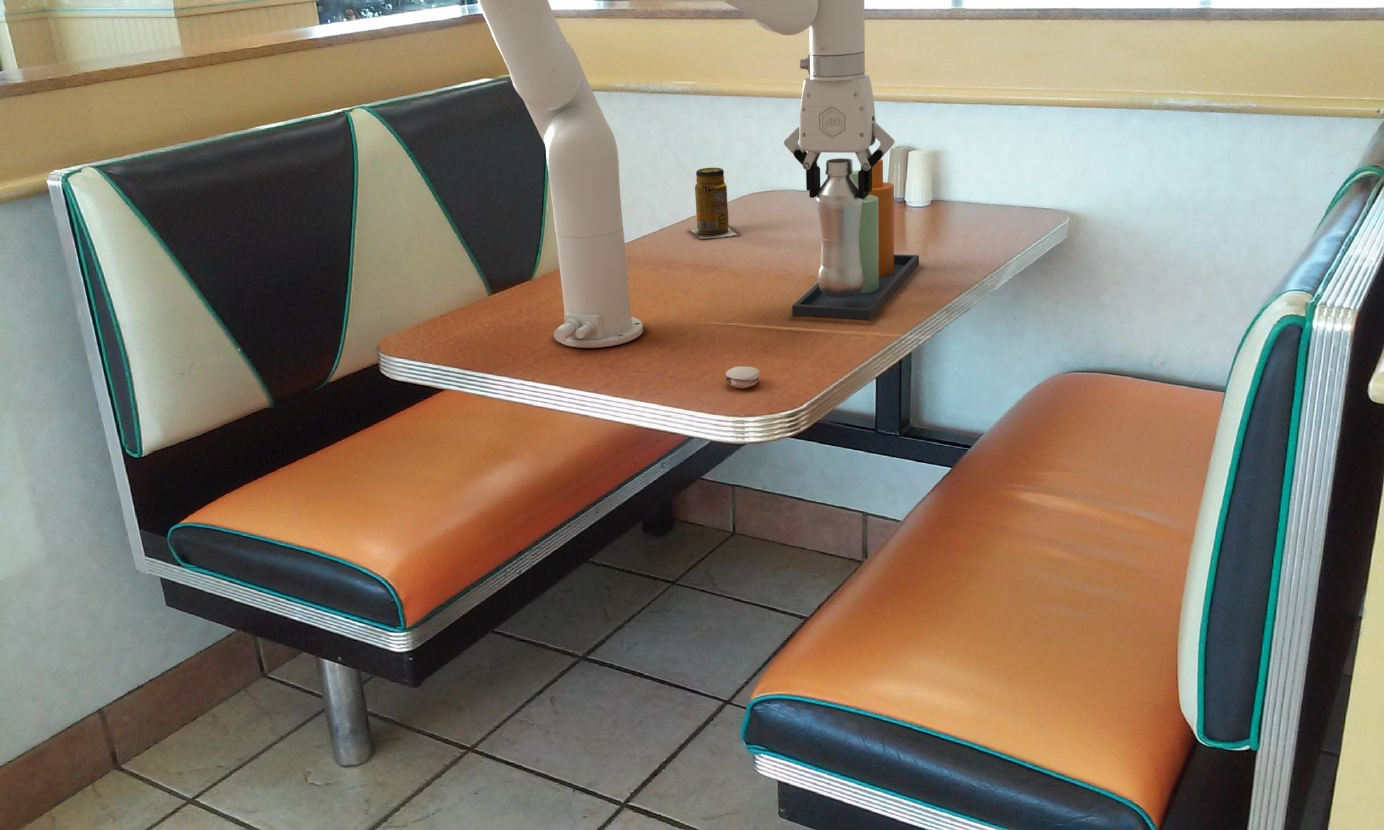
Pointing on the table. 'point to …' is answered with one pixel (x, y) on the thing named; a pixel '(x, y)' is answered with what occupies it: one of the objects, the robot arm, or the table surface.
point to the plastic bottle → (839, 231)
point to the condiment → (711, 204)
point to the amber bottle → (884, 219)
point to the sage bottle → (869, 241)
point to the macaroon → (742, 376)
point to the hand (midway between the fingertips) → (839, 195)
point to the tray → (859, 304)
